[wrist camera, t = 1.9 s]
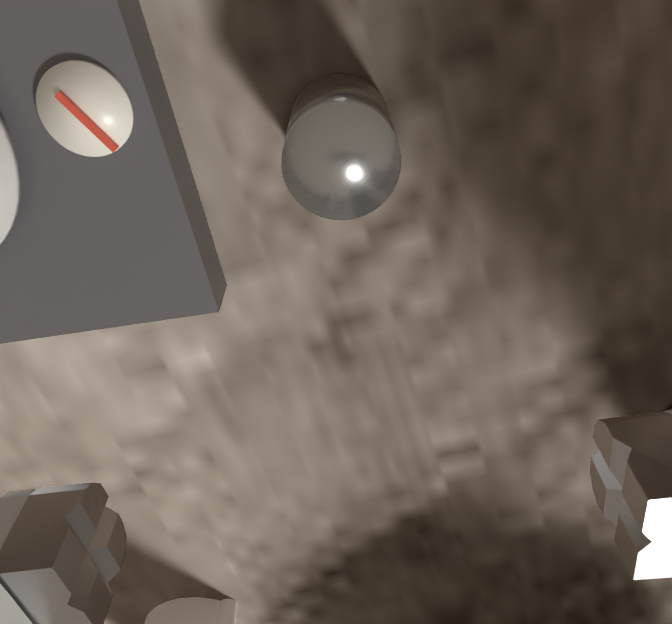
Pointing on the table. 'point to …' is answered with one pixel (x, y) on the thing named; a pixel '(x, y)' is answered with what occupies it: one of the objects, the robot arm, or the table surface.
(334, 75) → the cylinder
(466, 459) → the table surface
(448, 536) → the table surface
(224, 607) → the c-shaped pipe clip
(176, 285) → the scale
